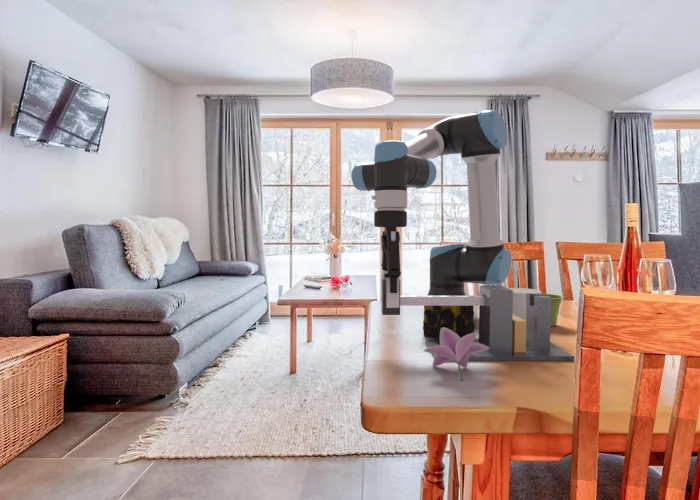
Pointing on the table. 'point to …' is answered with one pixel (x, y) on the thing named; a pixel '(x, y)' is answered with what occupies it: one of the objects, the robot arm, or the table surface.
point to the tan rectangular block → (518, 334)
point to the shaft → (427, 300)
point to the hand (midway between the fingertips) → (390, 302)
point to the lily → (455, 348)
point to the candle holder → (521, 301)
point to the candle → (448, 320)
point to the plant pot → (554, 307)
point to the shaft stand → (499, 328)
